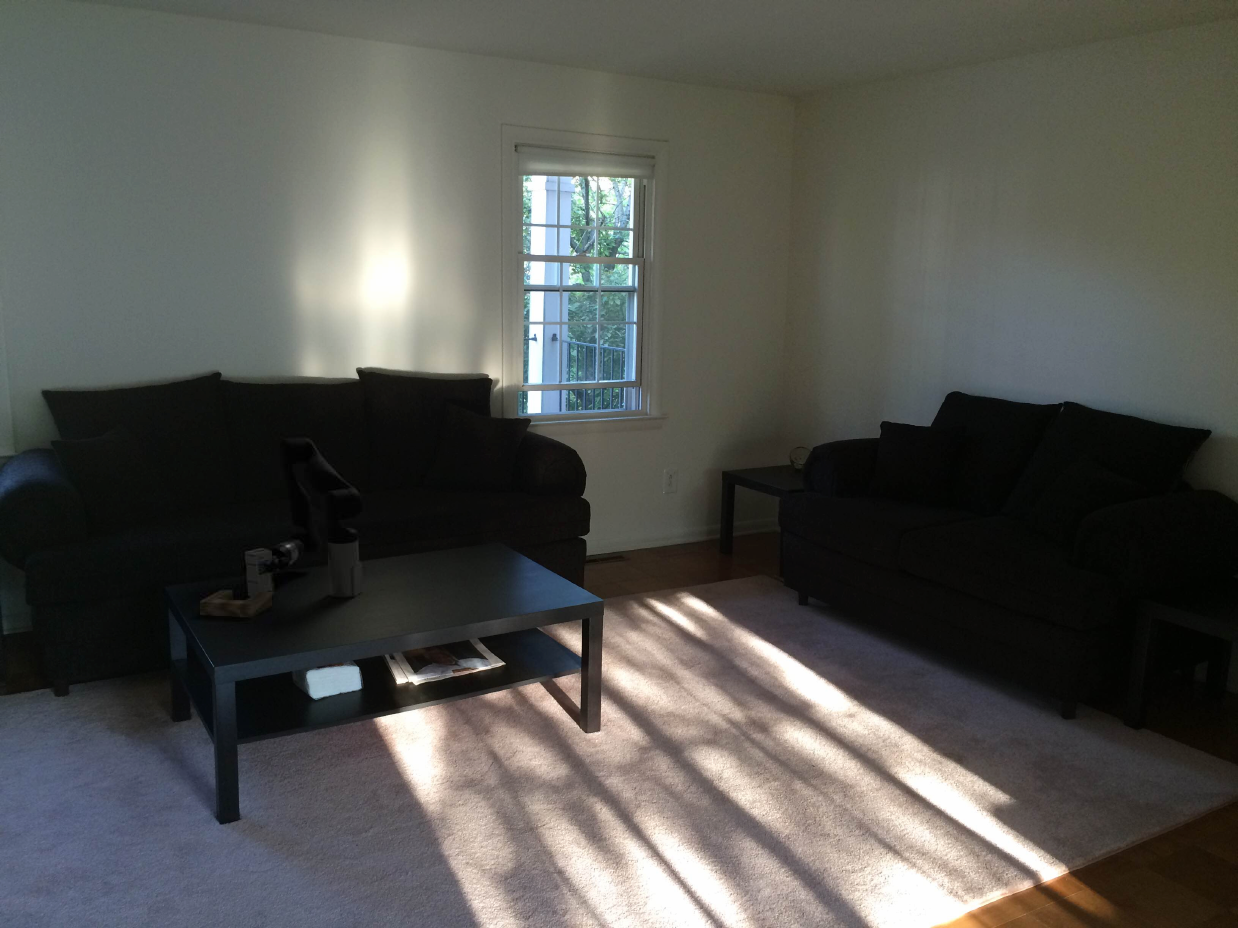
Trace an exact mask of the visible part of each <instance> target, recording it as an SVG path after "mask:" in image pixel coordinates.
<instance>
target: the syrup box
mask: <svg viewBox="0 0 1238 928" xmlns="http://www.w3.org/2000/svg"><path fill="white" fill-rule="evenodd" d="M269 549H270V548H264V547H260V548H256V549H253V550H249V551H247V550H246V551H245V552H244V555H245V556H244V560H245V559H246V583H247V585H246V586H247V595H248V597H249V598H251V597H252V596H254V595H256V594H257V593H259V592H271V596H274V595H275V580H274V571H273V572H271V573H268V571H267V567H268V566H269V565H271V564H272V551H271V550H269Z"/></svg>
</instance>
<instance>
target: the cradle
mask: <svg viewBox="0 0 1238 928" xmlns="http://www.w3.org/2000/svg"><path fill="white" fill-rule="evenodd" d="M233 592H234V591H233V589H221V590H219V591H217V592H215V593H213V594H212V595H209V596H208V597H205V598H204V599H202V600H200V601H199V610H200V616H216V617H217V616H218V617H231V616H232V617H235V618H251V619H252V618H253V617H255V616H257V615H258V614H260V613H261V612H264V611H265V610H266V609H268V608H269V607H271V606H272V605H273V599H272V595H271V592H259V593H257V594H256V595H254V596H252V597H249V598H247V599H246V600H242V599H241V600H240V599H237V600H236V599H234V595H233Z"/></svg>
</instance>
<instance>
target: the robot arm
mask: <svg viewBox="0 0 1238 928" xmlns="http://www.w3.org/2000/svg"><path fill="white" fill-rule="evenodd" d="M278 456H279V462H280V463H279V464H280V467H281V471H282V475H283V479H284V483H285V487H286V492H287V494H288V500H289V508H290V518H291V524H292V525H293V527H298V528H302V529H303V530H304V532H303V533H295V534H292V535H289V537H288V539H287V540H286V541H284V542H281V543H278V544H277V545H275V546H273V547H271V548H268V549H269V550H271V551H272V564H271V565H269V566H268V567H267V571H268V573H271V572H273V573H274V572H275V571H280V570H281V571H286V570H287V569H290V567H293V563H294V562H295V561H297V560H299V559H300V558H302V556H304V555H306V554H315V553H318V552H319V551H320V550H321V547H322V539H321V537H320V534H319V531H318V528H317V526H316V523H315V520H314V515H313V506H312V500H311V497H310V495H309V494H308V492H307V490H305V488H304V487H303V485H301V483H300V482H299V480H298V478H297V477H296V474H295V472H294V467H293V466H300V465H301V466H302V465H305V467H304V470H303V477H304V480H305V481H306V483H307V485H309V487H310V488H311V489H312V490H313V491H315V492H316V493H317V494H319V495H323V496H324V497H323V509H324V517H325V519H324V520H325V531H326V537H327V538H326V539H327V556H328V559H327V561H328V580H329V581H328V582H329V584H328V585H329V595H330V596H331V597H333V598H343V599H344V598H352V597H353V598H354V597H357V596H359V594H361V593H362V592H364V591H363V590H364V589H363V563H362V562H361V561H360V553H359V552H360V551H359V534H358V533H359V532H358V530H357V529H354V528H350V527H346V526H344V525H341V521H340V520H347V519H349V520H350V519H354V518H357V517H359V516H361V514H362V513H363V510H364V502H363V498H362V495H361V494H360V492H359V491H358V490H357V489H356V488H355V487H354V486H352V485H351V484H350V483H348V482H347V481H346V480H344V479H343V478H342V476H341V475H340V474H338V472H337V471H336V470H335V469H334V468H333V467H332V466H331V464H330V463H329V462H328V461H326V459H325V458H324V457H323V456H322V455H321V453H320V451H319V450H318V449H317V447H316V445H315V443H314V442H313V441H312V440H311V439H310V438H308V437H294V438H284V439H281V440H280V442H279V445H278ZM242 562H243V565H242V567H241V568H242V571H243V573H245V572H246V559H245V558H244V560H243V561H242ZM246 573H247V572H246Z"/></svg>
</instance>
